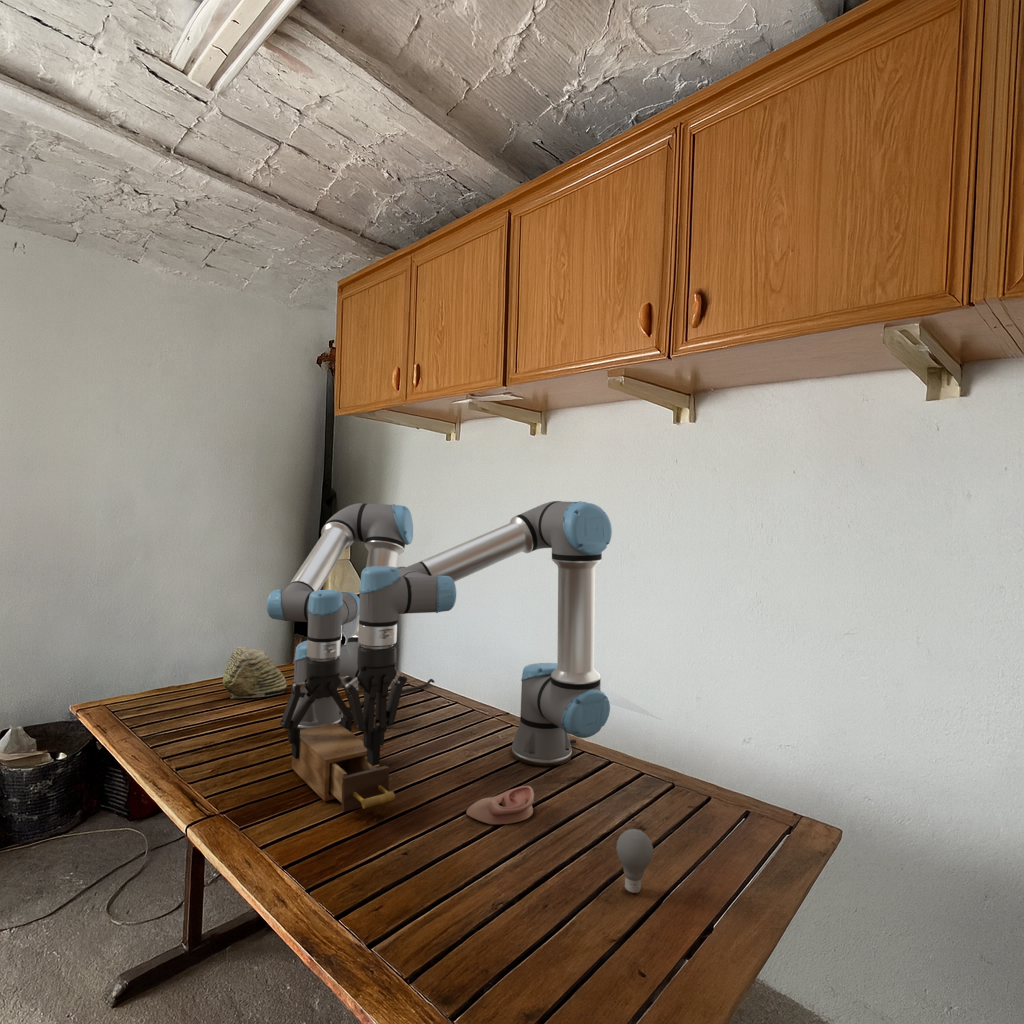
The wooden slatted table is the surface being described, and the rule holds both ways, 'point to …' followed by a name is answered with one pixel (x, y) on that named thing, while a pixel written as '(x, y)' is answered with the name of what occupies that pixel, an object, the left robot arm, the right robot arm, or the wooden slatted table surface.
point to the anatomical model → (504, 807)
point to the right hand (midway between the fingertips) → (373, 762)
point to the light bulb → (634, 857)
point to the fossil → (252, 674)
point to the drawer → (359, 783)
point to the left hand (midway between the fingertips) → (320, 751)
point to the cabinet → (324, 754)
